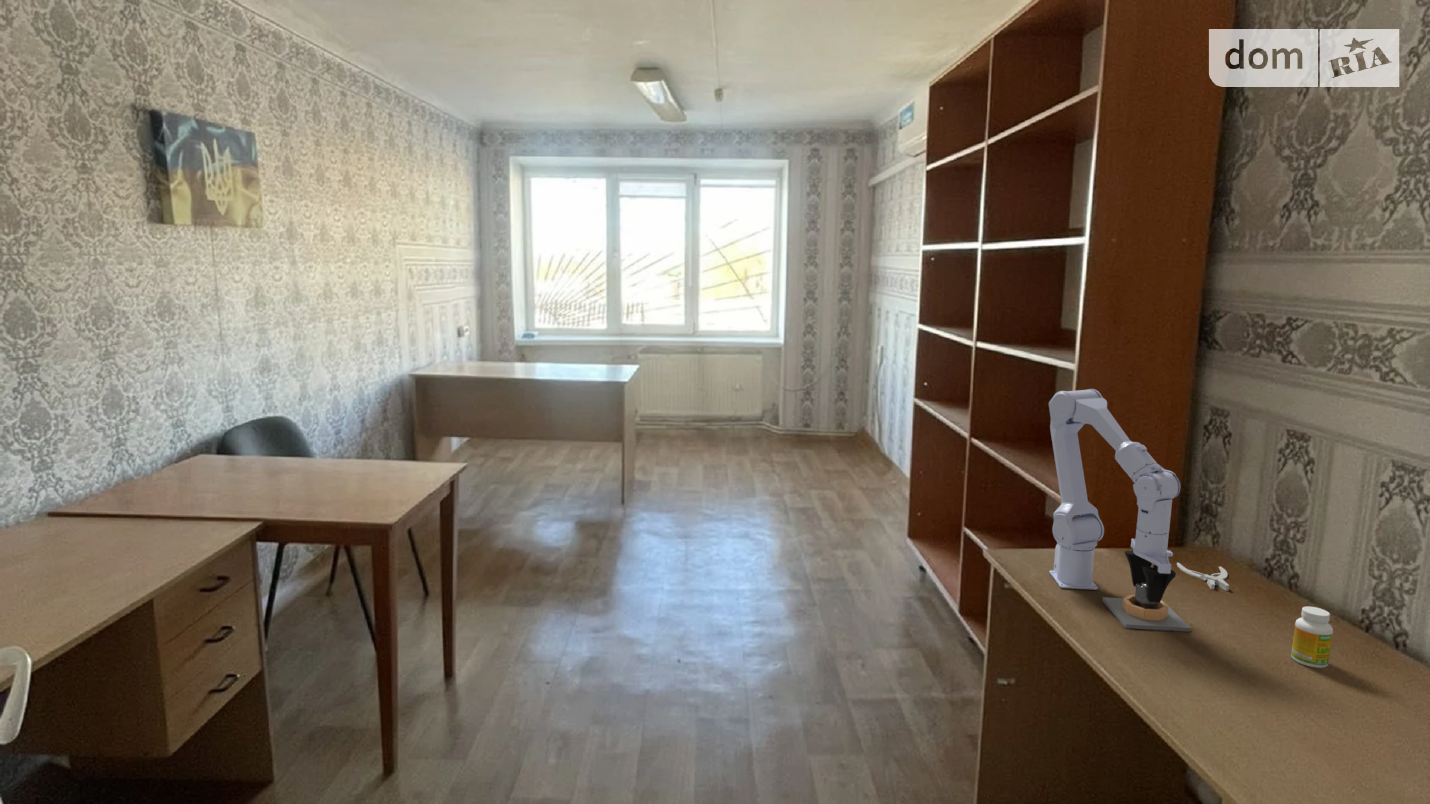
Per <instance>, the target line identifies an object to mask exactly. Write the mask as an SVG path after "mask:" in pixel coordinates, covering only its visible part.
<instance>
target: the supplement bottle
mask: <svg viewBox="0 0 1430 804" xmlns="http://www.w3.org/2000/svg"><path fill="white" fill-rule="evenodd" d="M1300 614H1301V615H1300V616H1301V617H1299V618H1297V619H1296V620H1295V623H1294V631H1293V638H1292V646H1291V652H1290V653H1291V655H1290V657H1291V658H1292V659H1293V660H1294V662H1297V663H1298V664H1301V665H1304V666H1307V667H1310V668H1315V669H1316V668H1317V669H1323V668H1327V667H1328V666H1329V663H1330V662H1329V661H1330V656H1331V655H1330V654H1331V647H1332V642H1333V634H1334V629H1333V627H1332V625H1331V624H1330V623H1329V622H1330V618H1331V614H1330V612H1328V611H1327V610H1325V609H1323V608H1320V607H1316V606H1303V607H1302V609H1301V613H1300Z"/></svg>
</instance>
